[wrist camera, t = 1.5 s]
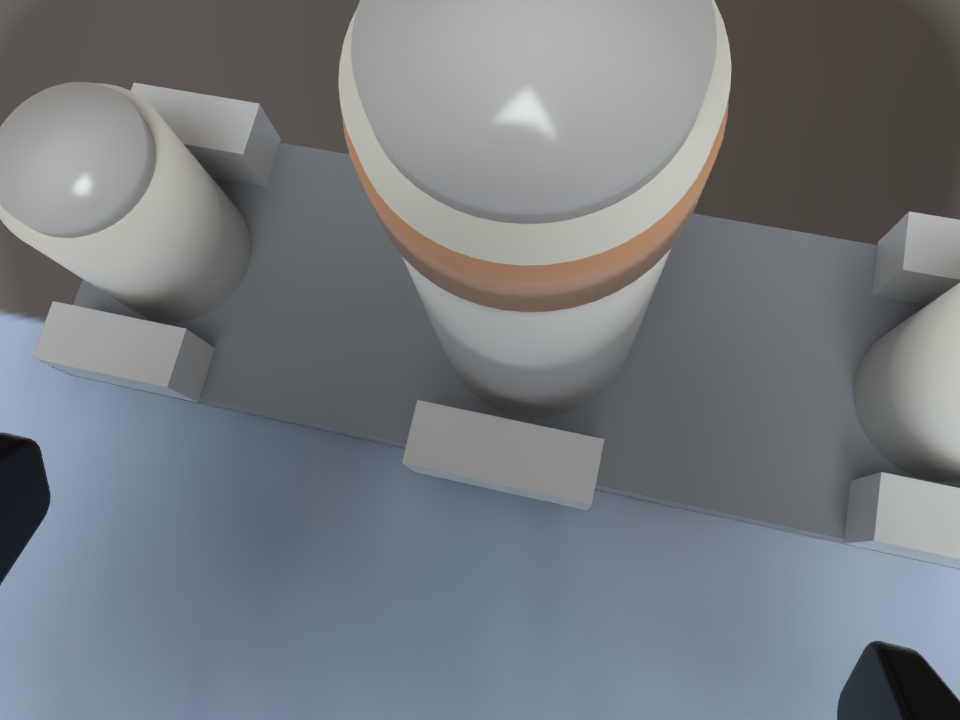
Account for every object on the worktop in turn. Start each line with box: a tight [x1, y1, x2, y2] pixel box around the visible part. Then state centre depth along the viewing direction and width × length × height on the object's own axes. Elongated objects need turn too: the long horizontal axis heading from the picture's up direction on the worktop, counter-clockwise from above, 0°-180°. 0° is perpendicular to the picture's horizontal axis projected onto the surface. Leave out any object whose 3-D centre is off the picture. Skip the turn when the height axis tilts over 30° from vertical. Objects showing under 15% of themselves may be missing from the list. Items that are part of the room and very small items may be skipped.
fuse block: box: [32, 83, 960, 569], centre depth 20 cm, size 9×25×3 cm, turn 77°
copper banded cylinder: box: [339, 0, 731, 417], centre depth 15 cm, size 5×5×12 cm
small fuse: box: [0, 82, 251, 323], centre depth 19 cm, size 4×4×6 cm
